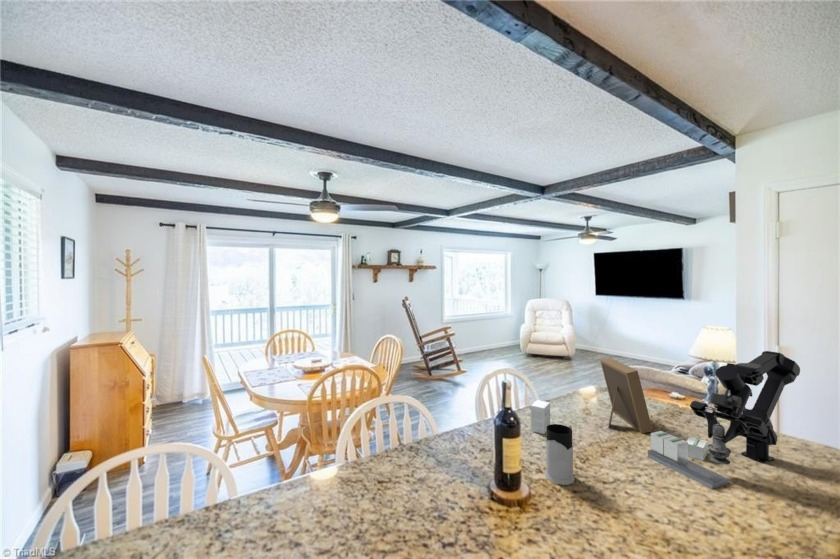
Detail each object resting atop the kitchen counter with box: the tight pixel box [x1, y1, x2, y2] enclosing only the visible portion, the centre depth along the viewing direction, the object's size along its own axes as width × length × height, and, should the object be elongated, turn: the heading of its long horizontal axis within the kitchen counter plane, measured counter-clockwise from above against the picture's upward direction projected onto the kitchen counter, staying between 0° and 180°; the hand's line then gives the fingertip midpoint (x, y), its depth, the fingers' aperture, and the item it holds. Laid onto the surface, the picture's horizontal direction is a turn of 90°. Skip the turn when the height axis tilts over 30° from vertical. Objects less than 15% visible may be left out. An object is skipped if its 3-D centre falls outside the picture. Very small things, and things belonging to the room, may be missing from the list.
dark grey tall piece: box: [707, 421, 732, 465], centre depth 114 cm, size 6×6×12 cm
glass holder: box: [544, 423, 575, 486], centre depth 116 cm, size 9×14×15 cm, turn 137°
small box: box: [530, 399, 551, 435], centre depth 148 cm, size 8×6×10 cm
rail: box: [647, 430, 730, 490], centre depth 117 cm, size 8×20×8 cm, turn 21°
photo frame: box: [599, 357, 653, 434], centre depth 154 cm, size 15×22×25 cm
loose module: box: [686, 436, 708, 462], centre depth 127 cm, size 7×5×5 cm
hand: (716, 439), depth 113 cm, fingers closed on dark grey tall piece, 4 cm apart
